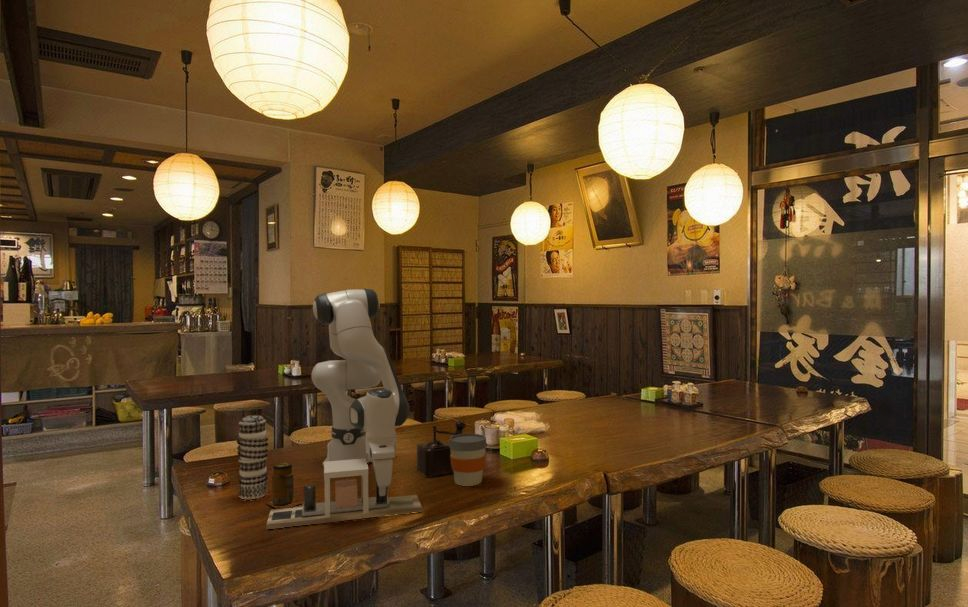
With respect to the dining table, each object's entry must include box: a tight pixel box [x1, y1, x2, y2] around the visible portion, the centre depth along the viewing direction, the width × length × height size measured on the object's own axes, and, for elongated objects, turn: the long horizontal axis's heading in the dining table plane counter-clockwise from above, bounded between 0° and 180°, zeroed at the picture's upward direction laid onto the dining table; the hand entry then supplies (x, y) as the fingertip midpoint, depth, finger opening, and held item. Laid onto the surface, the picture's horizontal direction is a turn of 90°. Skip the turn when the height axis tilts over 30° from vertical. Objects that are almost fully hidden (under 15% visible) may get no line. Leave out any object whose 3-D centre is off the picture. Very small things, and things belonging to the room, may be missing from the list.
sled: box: [302, 478, 390, 516], centre depth 159 cm, size 7×24×7 cm, turn 105°
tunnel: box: [323, 458, 370, 518], centre depth 159 cm, size 11×12×12 cm
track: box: [265, 494, 423, 531], centre depth 159 cm, size 11×42×2 cm, turn 105°
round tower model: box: [236, 414, 269, 500], centre depth 175 cm, size 9×9×25 cm
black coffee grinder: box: [416, 420, 467, 478], centre depth 198 cm, size 16×11×18 cm
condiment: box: [271, 462, 295, 506], centre depth 167 cm, size 7×8×12 cm
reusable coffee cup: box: [448, 433, 487, 486], centre depth 185 cm, size 12×13×15 cm
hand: (381, 492), depth 162 cm, fingers closed on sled, 3 cm apart
